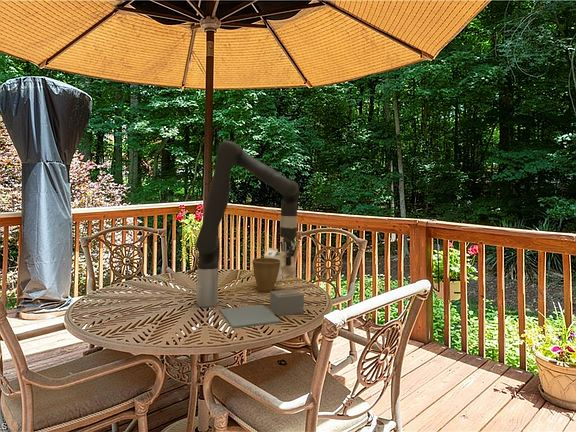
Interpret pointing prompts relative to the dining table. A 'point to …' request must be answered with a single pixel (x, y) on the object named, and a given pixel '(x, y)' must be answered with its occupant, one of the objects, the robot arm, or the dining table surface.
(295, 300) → the grey rectangular block
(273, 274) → the plant pot
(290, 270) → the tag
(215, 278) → the robot arm
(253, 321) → the mat
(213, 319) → the dining table surface
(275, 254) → the milk carton
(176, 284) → the dining table surface
